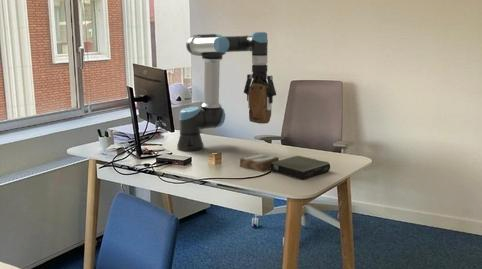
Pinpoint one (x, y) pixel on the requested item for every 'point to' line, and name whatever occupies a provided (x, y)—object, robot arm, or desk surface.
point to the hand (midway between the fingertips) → (259, 108)
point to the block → (259, 104)
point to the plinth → (258, 162)
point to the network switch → (300, 167)
